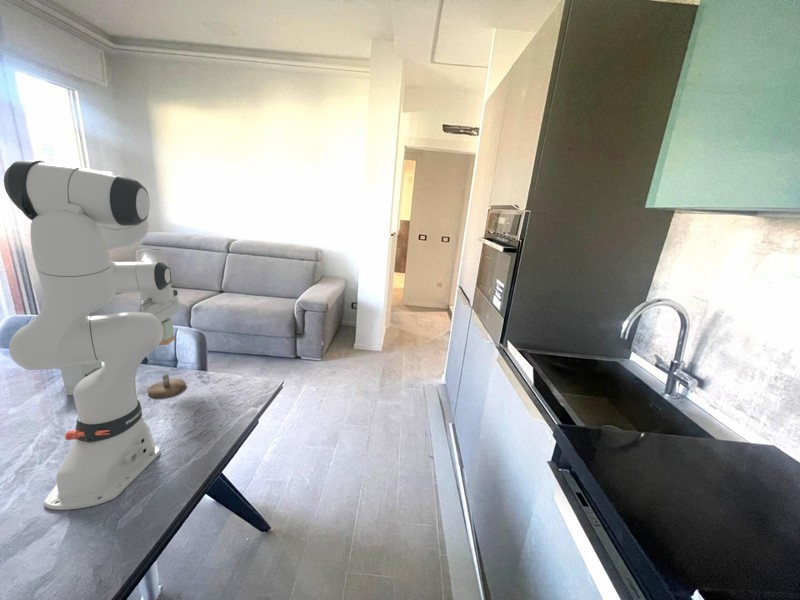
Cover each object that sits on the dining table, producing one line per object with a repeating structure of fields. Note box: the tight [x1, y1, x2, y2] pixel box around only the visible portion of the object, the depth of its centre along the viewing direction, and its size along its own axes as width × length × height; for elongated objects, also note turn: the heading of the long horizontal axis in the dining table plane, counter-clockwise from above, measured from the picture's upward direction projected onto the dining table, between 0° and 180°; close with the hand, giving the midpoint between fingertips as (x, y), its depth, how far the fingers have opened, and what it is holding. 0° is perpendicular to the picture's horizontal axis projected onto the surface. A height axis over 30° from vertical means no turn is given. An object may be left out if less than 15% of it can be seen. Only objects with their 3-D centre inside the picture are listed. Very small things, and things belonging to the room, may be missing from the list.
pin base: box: [147, 373, 186, 399], centre depth 114 cm, size 11×11×6 cm
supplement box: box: [60, 362, 103, 396], centre depth 110 cm, size 7×7×13 cm
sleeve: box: [158, 318, 176, 346], centre depth 113 cm, size 5×5×8 cm
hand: (162, 333), depth 113 cm, fingers closed on sleeve, 5 cm apart
